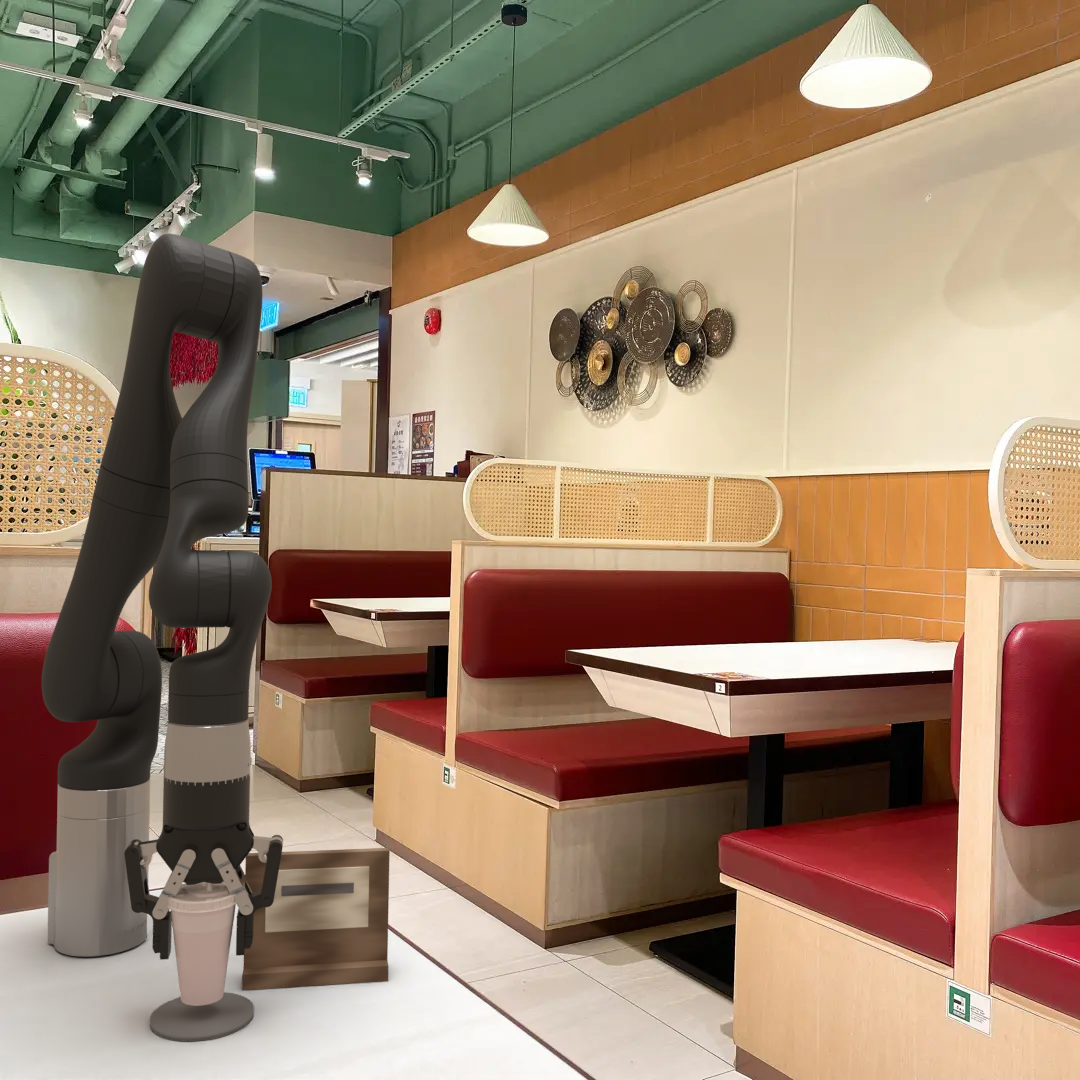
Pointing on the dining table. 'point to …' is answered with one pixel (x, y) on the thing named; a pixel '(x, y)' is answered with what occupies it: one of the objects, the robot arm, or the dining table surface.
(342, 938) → the placard
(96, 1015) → the dining table surface
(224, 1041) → the dining table surface
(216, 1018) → the coaster
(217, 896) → the smoothie
